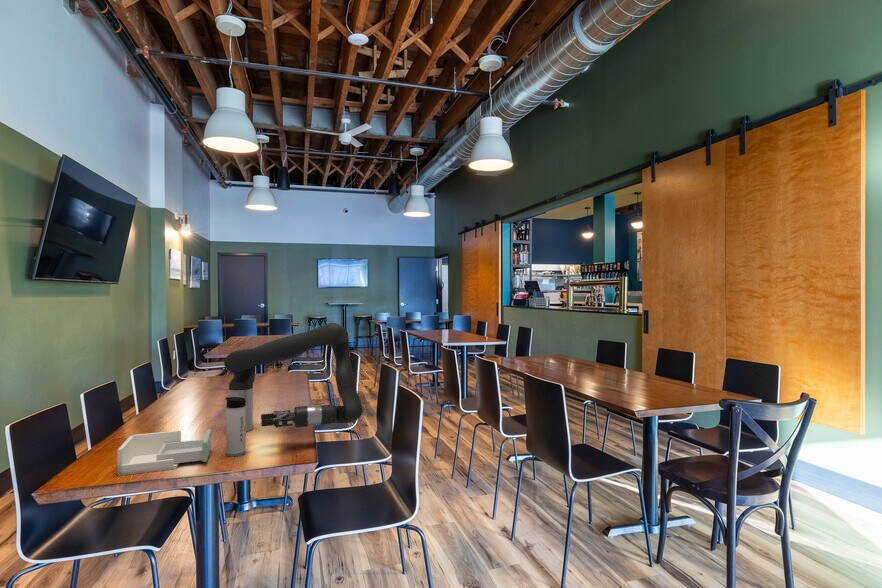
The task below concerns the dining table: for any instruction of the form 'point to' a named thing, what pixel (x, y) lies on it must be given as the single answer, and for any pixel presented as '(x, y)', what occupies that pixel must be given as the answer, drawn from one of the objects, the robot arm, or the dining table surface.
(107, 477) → the dining table surface
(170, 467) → the dock
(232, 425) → the travel mug
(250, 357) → the robot arm
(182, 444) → the tray
